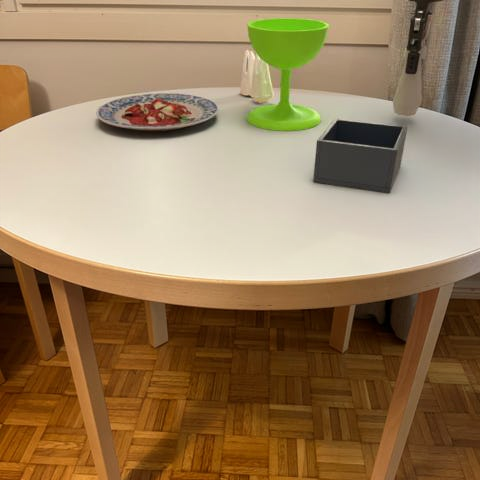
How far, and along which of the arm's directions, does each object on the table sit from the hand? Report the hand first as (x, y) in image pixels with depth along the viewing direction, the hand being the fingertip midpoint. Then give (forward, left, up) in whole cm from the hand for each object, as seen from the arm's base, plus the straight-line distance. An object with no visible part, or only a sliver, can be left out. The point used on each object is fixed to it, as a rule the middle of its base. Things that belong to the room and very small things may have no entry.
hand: (412, 70), depth 107 cm
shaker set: (+35, -5, -10) cm, 37 cm away
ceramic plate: (+49, +18, -10) cm, 53 cm away
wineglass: (+24, +8, -10) cm, 27 cm away
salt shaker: (0, 0, -8) cm, 8 cm away
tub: (+3, +33, -10) cm, 35 cm away
